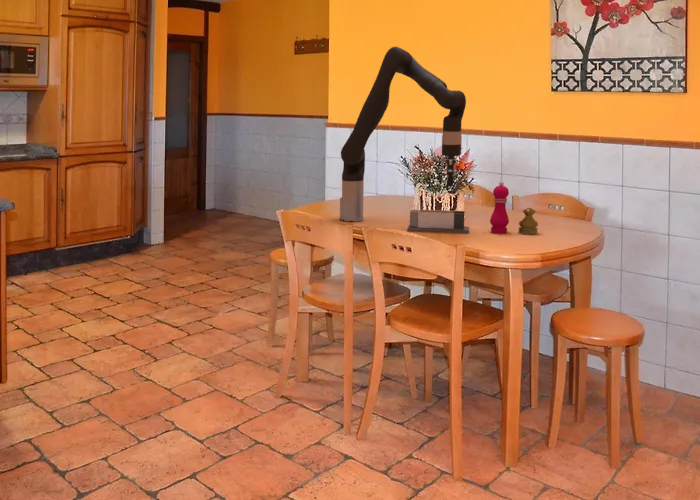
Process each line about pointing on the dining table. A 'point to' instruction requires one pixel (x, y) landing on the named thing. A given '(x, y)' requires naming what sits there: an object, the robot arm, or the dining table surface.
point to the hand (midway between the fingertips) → (450, 184)
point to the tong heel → (414, 218)
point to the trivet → (438, 230)
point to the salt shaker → (528, 223)
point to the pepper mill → (500, 210)
